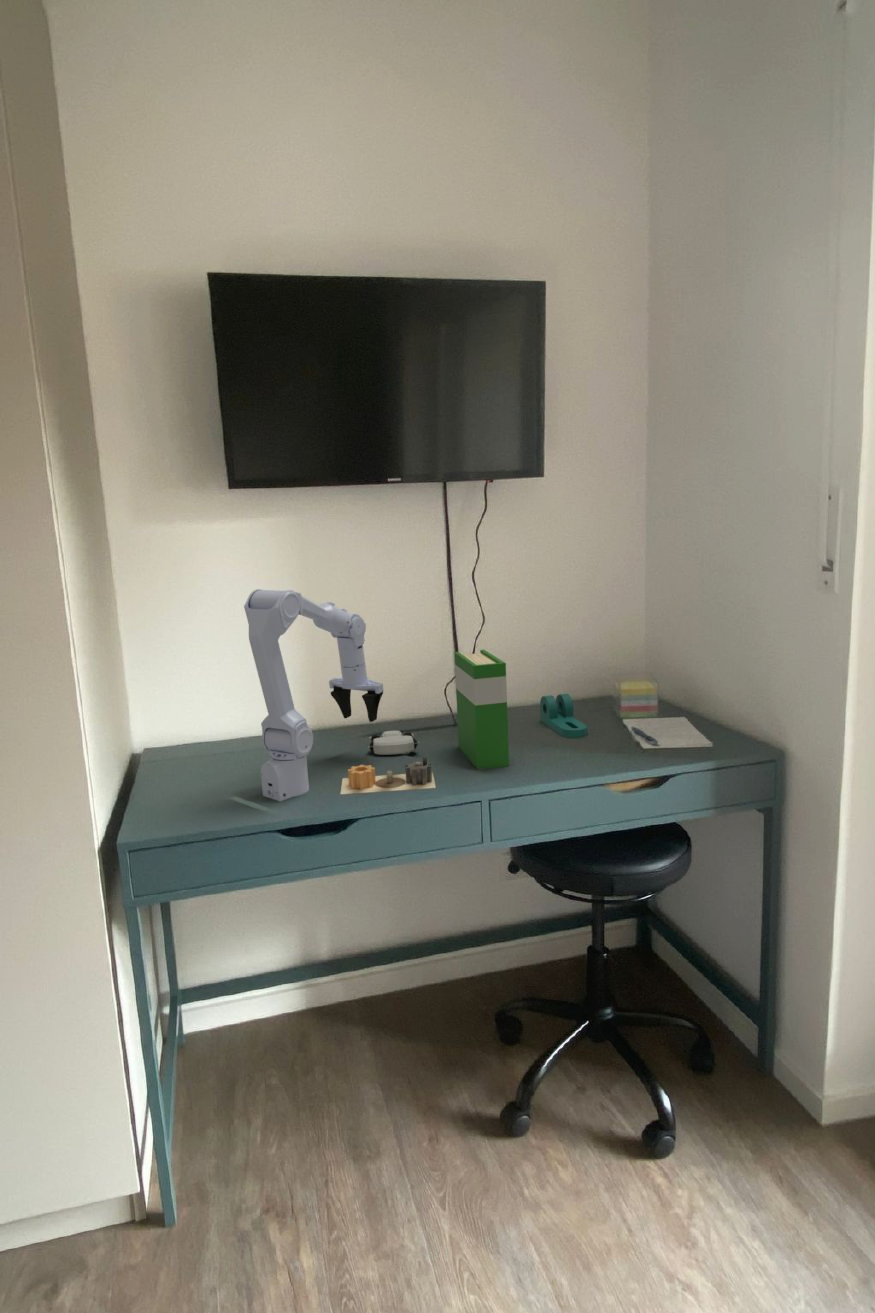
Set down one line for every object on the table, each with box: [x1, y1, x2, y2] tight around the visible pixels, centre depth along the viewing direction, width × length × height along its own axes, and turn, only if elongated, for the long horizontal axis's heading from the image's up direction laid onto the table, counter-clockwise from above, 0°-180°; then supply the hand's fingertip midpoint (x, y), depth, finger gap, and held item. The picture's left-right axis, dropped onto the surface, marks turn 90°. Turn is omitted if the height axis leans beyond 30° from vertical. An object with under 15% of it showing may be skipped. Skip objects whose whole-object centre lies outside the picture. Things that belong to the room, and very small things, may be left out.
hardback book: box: [454, 649, 510, 771], centre depth 192 cm, size 18×7×24 cm, turn 13°
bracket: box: [539, 693, 588, 739], centre depth 213 cm, size 18×7×8 cm, turn 14°
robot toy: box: [367, 730, 420, 756], centre depth 201 cm, size 12×4×15 cm
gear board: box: [340, 756, 437, 795], centre depth 176 cm, size 20×10×6 cm, turn 94°
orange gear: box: [347, 764, 376, 789], centre depth 176 cm, size 6×6×4 cm
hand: (360, 718), depth 194 cm, fingers open, 7 cm apart
